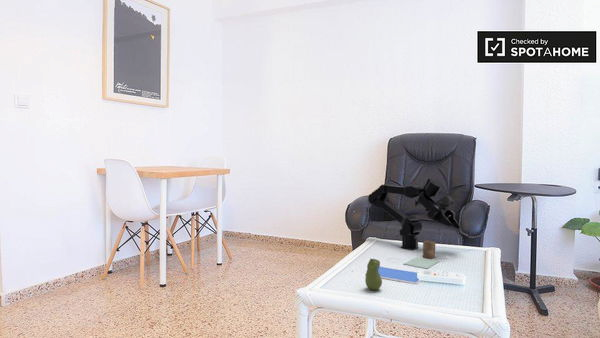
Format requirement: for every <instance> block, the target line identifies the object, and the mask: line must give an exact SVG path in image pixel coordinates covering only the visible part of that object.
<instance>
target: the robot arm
mask: <svg viewBox="0 0 600 338" xmlns="http://www.w3.org/2000/svg"><path fill="white" fill-rule="evenodd" d="M442 187H443V185H442V183H440V182H439V181H437V180H434V179H432V178H428V179H427V180H426V183H425V185H424V186H423V187H422V186H421V185H412V186H411V185H410V186H404V185H403V186H402V185H394V184H393V185H392V184H386V183H385V184H384V183H383V184H381V185H379V187H378V188H376V189H375V190H373V191H372V192H371V193H370V194H369V195H368V198H367V199H368V203H369V204H370V205H372V206H373V207H377V208H380V209H382V210H383V211H384V212H386V213H387V214H388V215H389V216H390V217H392V218H393V219H394V220H396V221H397V222H398V223H399V224H400V226H401V229H400V230H399V236H401V238H402V239H401V246H400V248H401V249H406V250H407V249H408V250H412V251H413V250H415V249H418V248H419V238H418V236H419V235H420V233H421V231H422V229H423V225H422V222H421V221H420V219H419V218H417V217H416V216H415V215H406V214H405V213H404V212H403V211H401V210H399V209H398V208H397V207H395V205H393V204H392V203H390V202H389V201H388V199H387V197H388V195H389V194H390V193H391V194H397V195H398V194H399V195H402V196H404V197H407V198H409V199H416V198H417V199H416V200H414V202H415V203H414V206H415V207H420V206H421V207H423V208H424V209H425V211H426V217H427V218H428V219H430V220H432V221H434V222H437V223H439V224H443V225H445V226H448V227H452V228H456V229H458V230H460V229H461V228H462V227H461V225H460V224H459V223H458V221H457V219H456V212H454V211H453V210H451V209H447V207H449V206H450V205H453V204H454V199H453V198H452V197H451V196H450V195H447V194H446V195H444V196H442V197H441V198H440V199H439V200H437V201H436V200H435V199H434V197H436V196H437V195H438V193H439V191H440V190H441V188H442Z"/></svg>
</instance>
